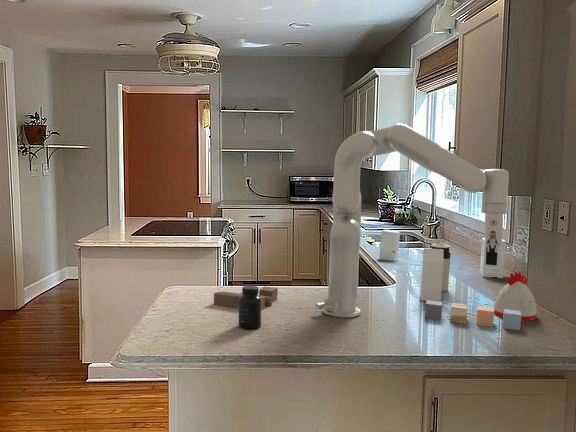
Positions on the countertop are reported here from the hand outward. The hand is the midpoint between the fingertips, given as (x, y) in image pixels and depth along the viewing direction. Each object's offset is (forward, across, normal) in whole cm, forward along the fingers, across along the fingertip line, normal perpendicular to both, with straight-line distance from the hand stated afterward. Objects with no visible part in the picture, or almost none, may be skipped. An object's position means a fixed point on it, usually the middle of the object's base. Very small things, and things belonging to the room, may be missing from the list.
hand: (491, 262), depth 184 cm
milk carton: (+20, +24, +20) cm, 37 cm away
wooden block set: (+19, -11, +79) cm, 82 cm away
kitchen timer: (+21, +16, -9) cm, 27 cm away
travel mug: (+20, +42, +19) cm, 50 cm away
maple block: (+20, 0, +9) cm, 22 cm away
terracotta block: (+20, 0, +1) cm, 20 cm away
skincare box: (+20, +100, +47) cm, 112 cm away
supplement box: (+21, +83, -2) cm, 86 cm away
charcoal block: (+20, 0, +17) cm, 26 cm away
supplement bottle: (+19, -36, +68) cm, 79 cm away
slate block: (+20, 0, -7) cm, 22 cm away
